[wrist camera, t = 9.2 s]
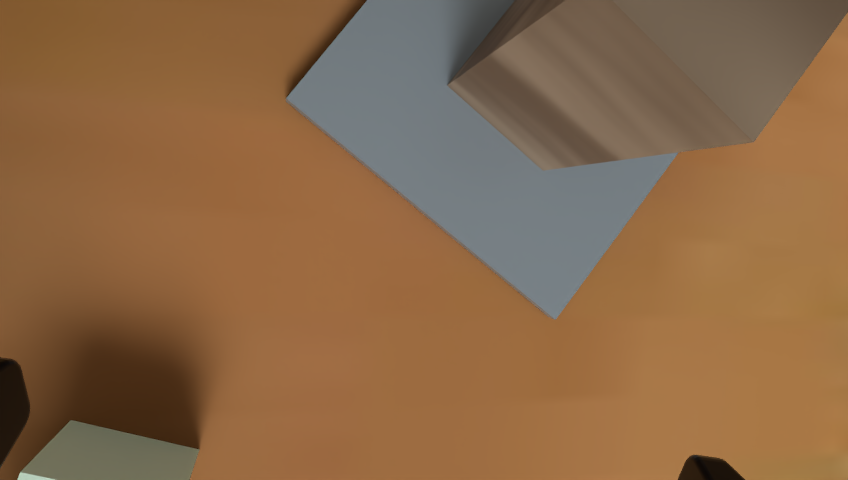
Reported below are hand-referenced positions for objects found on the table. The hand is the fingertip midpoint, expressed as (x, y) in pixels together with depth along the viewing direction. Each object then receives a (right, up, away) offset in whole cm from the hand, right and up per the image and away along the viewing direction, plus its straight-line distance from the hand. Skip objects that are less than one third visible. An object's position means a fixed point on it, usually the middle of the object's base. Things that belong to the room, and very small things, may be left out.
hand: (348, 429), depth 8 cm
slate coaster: (+5, +8, +14) cm, 17 cm away
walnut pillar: (+5, +8, +13) cm, 16 cm away
